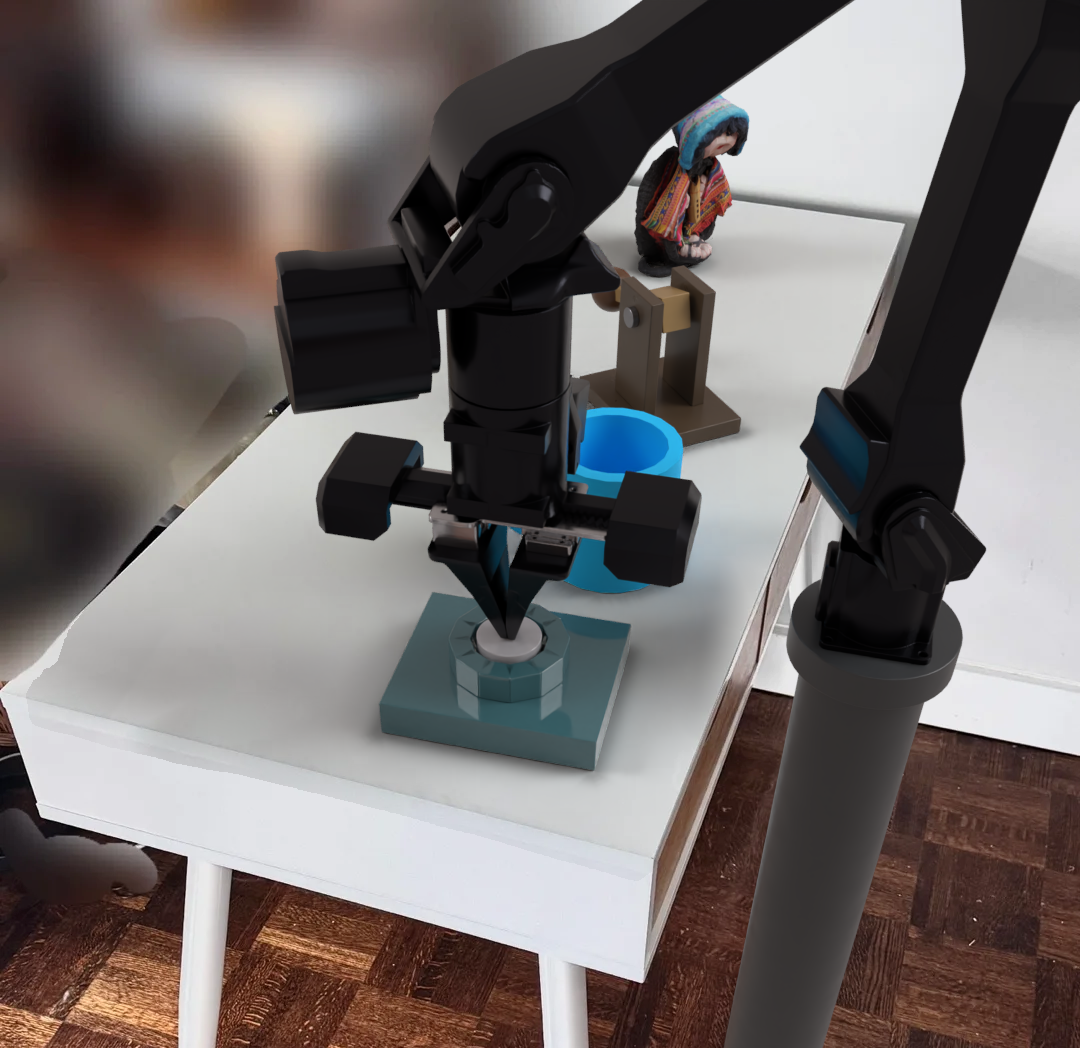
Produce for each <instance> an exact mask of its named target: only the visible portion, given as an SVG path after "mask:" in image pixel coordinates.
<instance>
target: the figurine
mask: <svg viewBox="0 0 1080 1048" xmlns="http://www.w3.org/2000/svg"><path fill="white" fill-rule="evenodd" d="M749 129H750V116H749V114H748V112H747V111H746V110H745V109H744V108H741V107H739V106H737V105H736V104H734V103H732V102H731V101H730V100H728V99H727V98H724V97H723V96H722V94H720V95H719V96H717V97H716V98H715V99H713V100H712V101H710V102H709V103H707V104H706V105H705V106H703V107H702V108H700V109H699V110H697V111H696V112H695V113H693V114H692V115H690V116H689V117H687V118H686V119H685V120H683V121H682V122H680V123H679V124H677V125H676V126H675V127H673V128H672V129H671V131H672V134H673V136H674V139H675V140H674V141H675V144H676V145H671V146H670V147H668V148H666V149H665V150H664V151H663V152H662V153H661V154H660V155H659V156H658V157H657V158H656V159H654V160H653V161H652V162H651V163H650V166H649V168H648V169H647V170H646V172H645V173H644V174H643V177H642V179H641V182H640V184H639V186H638V189H637V193H636V201H635V205H636V206H635V207H636V208H635V209H634V213H635V217H634V222H635V229H634V232H633V235H634V236H635V244H636V246H637V247H636V248H637V249H636V250H637V254H638V255H639V256H641V258H640V259H639V260H638V263H637V269H638V270H639V272H641V273H642V274H644V275H646V276H649V277H657V278H665V277H669V276H671V272H672V268H674V267H678V266H683V265H684V266H685V267H686V268H688V267H689V266H691V265H699V264H701V263H703V262H705V261H707V260H708V259H709V258H710V257H711V256H712V252H713V247H712V245H711V244H710V243H709V242H706V241H708V240H709V239H710V240H712V238H711V237H712V235H713V234H714V233H713V232H714V231H715V227H716V221H717V218H718V217H722V218H724V216H726V212H727V210H728V209H730V208H731V207H732V206H733V203H732V202H733V198H732V192H731V187H730V183H729V180H728V178H727V176H726V174H725V171H724V169H723V166H722V164H721V162H720V160H719V159H718V158H717V156H724V155H725V154H727V155H728V156H730V157H738V156H739V155H740V154H742V151H743V149H744V147H745V144H746V142H747V141H748V136H749ZM710 240H709V241H710ZM658 262H663V263H664V265H655V266H650V265H649V264H651V263H658Z"/></svg>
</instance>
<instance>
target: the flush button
mask: <svg viewBox="0 0 1080 1048" xmlns="http://www.w3.org/2000/svg"><path fill="white" fill-rule="evenodd" d="M476 641H477V653H479V654H480V655H482V656H483V657H485V658H486V659H488V660H490V661H494V662H500V663H506V664H513V663H518V662H524V661H529V660H530V659H532V658H533V657H535V656H536V655H538V654H539V653H541V652H542V632H541V629H540V628H539V626H538V625H537V624H536V623H535V622H534V621H532V620H531V619H529V618H527V617H524V619H523V622H522V624H521V626H520V629H519V631H518V634H517V636H516V639H515V640H509V639H503V638H500V636H499V635H498V633H497V632H496V630H495V629H494V627H493V626H492V624H491V623H490V621H489V620H486V621H485V622H483V623H482V624H481V625H480V627H479V628H478V630H477V635H476Z"/></svg>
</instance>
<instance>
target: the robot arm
mask: <svg viewBox="0 0 1080 1048" xmlns="http://www.w3.org/2000/svg"><path fill="white" fill-rule="evenodd" d="M854 1H855V0H640V1H638V2H637V3H636V4H635V5H634V6H631V8H629V9H628V10H627V11H625V12H624V13H622V14H621V15H620V16H618V17H616V18H615V19H614V20H613V21H611V22H610V23H608V24H606V25H604V26H602V27H600V28H598V29H596V30H593V31H591V32H590V33H588V34H586V35H584V36H581V37H578V38H574V39H571V40H566V41H562V42H558V43H553V44H550V45H546V46H542V47H538V48H534V49H530V50H528V51H526V52H524V53H522V54H520V55H517V56H516V57H513V58H512V59H509V60H507V61H505V62H504V63H501V64H499V65H498V66H496V67H493V68H491V69H489V70H487V71H485V72H483V73H481V74H479V75H477V76H475V77H473V78H471V79H469V80H467V81H466V82H463V83H462V84H461V85H459V86H457V87H456V88H454V90H453V91H452V92H451V93H450V94H449V95H448V96H447V97H446V98H445V99H444V100H443V101H442V102H441V104H440V105H439V106H438V108H437V110H436V112H435V114H434V115H433V120H432V121H433V124H432V128H431V132H430V137H429V143H428V156H427V157H426V159H425V160H424V162H423V164H422V165H421V167H420V168H419V170H418V171H417V172H416V174H415V176H414V177H413V178H412V181H411V182H410V184H409V185H408V187H407V188H406V190H405V191H404V193H403V195H402V196H401V198H400V199H399V201H398V202H397V204H396V206H395V207H394V208H393V210H392V212H391V213H390V214H389V216H388V218H387V220H386V226H387V228H388V231H389V233H390V235H391V237H392V239H393V244H387V245H380V246H370V247H360V248H351V249H349V248H348V249H340V250H332V251H319V250H313V249H297V250H287V251H279V252H278V253H277V254H276V255H275V257H274V262H275V269H276V278H277V279H276V283H275V284H276V285H275V287H276V299H277V305H273V313H274V319H275V327H276V334H277V340H278V346H279V352H280V359H281V364H282V370H283V375H284V380H285V385H286V390H287V395H288V399H289V404H290V407H291V410H292V413H293V415H301V414H302V415H303V414H310V413H317V412H325V411H332V410H333V411H334V410H341V409H348V408H349V409H350V408H355V407H364V406H372V405H378V404H379V405H380V404H387V403H394V402H395V403H396V402H403V401H411V400H418V399H419V397H420V395H425V394H430V393H432V387H433V375H434V374H438V373H440V370H441V365H442V364H441V363H442V359H441V358H442V349H441V336H440V335H441V334H440V326H439V312H438V311H443V310H444V312H445V313H444V315H445V335H446V336H445V338H446V361H447V362H446V364H447V389H448V390H447V392H448V412H447V414H446V417H445V418H444V420H443V422H442V426H443V427H442V428H443V441H444V442H448V443H450V465H451V466H450V467H451V470H444V469H437V468H432V467H431V468H430V467H424V464H425V456H424V455H425V453H424V446H423V444H422V443H421V442H419V441H418V440H416V439H410V438H403V437H402V438H401V437H396V436H390V435H389V436H388V435H381V434H374V433H368V432H360V431H354V433H352V434H351V435H350V436H349V437H348V438H347V439H346V440H345V441H344V442H343V444H342V445H341V447H340V448H339V450H338V452H337V453H336V455H335V456H334V458H333V460H332V461H331V462H330V464H329V466H328V468H326V470H325V472H324V473H323V475H322V476H321V478H320V480H319V481H318V485H317V489H316V496H315V505H316V512H317V520H318V521H317V522H318V526H319V527H320V529H321V530H322V531H323V532H324V533H325V534H327V535H328V534H329V535H335V536H340V537H346V538H353V539H360V540H365V541H372V542H374V541H376V540H377V539H378V538H380V537H381V536H382V535H384V534H385V533H386V532H388V531H389V529H390V527H391V526H392V515H391V508H392V506H400V507H406V508H414V509H421V510H427V511H429V513H428V522H429V523H431V526H432V528H431V529H432V538H431V540H430V542H429V544H428V546H427V555H428V558H429V560H430V561H432V562H434V563H439V564H443V565H445V566H446V567H447V568H448V569H449V570H450V572H451V573H452V574H453V575H454V577H456V579H457V580H458V582H459V583H461V585H462V586H463V587H464V588H465V589H466V590H467V592H468V593H469V594H470V595H471V597H472V598H474V599H475V600H476V602H477V603H478V605H479V606H480V608H481V609H482V611H483V612H484V614H485V615H486V617H487V618H488V620H489V621H490V623H491V624H492V626H493V627H494V629H495V630H496V632H497V633H498V635H499V636H500V638H503V639H509V640H515V639H516V636H517V634H518V631H519V629H520V626H521V624H522V622H523V619H524V617H525V614H526V612H527V610H528V607H529V605H530V603H532V602H533V600H534V599H535V598H536V596H537V595H538V593H539V592H540V591H541V589H542V588H543V587H544V585H545V584H546V583H547V582H548V581H553V582H562V581H563V580H565V579H566V578H568V576H569V574H570V572H571V569H572V566H573V563H574V561H575V558H576V555H577V552H578V549H579V547H580V544H581V541H582V538H587V539H594V540H600V541H605V545H604V560H603V564H604V565H605V566H606V567H607V568H608V570H609V571H610V572H611V573H612V574H613V575H614V576H615V577H616V578H617V579H619V580H625V581H632V582H638V583H644V584H651V585H653V586H658V587H664V588H672V587H676V586H678V585H680V584H682V583H684V580H685V577H686V573H687V570H688V567H689V566H688V565H689V562H690V558H691V553H692V549H693V547H694V542H695V539H696V534H697V531H698V527H699V523H700V515H701V508H702V500H703V499H702V498H703V497H702V492H701V491H700V489H699V488H698V487H697V486H696V484H695V482H694V481H693V479H687V478H674V477H667V476H660V475H653V474H646V473H639V472H632V471H626V472H625V475H624V478H623V481H622V484H621V487H620V489H619V492H618V495H617V498H609V497H602V496H595V495H589V494H587V493H588V485H587V484H585V483H579V482H572V481H567V474H571V475H575V473H576V471H577V468H578V466H579V463H580V445H581V443H582V442H583V441H584V434H585V425H586V415H587V410H588V405H589V400H588V397H589V387H590V382H589V381H587V380H584V379H580V378H579V377H573V374H571V370H572V369H571V368H572V367H571V366H572V362H571V361H572V339H573V338H572V335H573V307H574V306H573V305H574V297H575V296H583V295H592V293H601V292H610V291H615V290H616V289H618V288H619V286H620V284H621V278H620V276H619V275H618V273H617V272H616V270H615V269H614V268H613V267H614V266H613V265H612V263H611V262H610V260H609V259H608V258H607V256H606V254H605V253H604V252H603V250H602V249H601V247H600V245H598V244H597V243H596V242H594V241H592V240H591V239H589V237H588V236H587V234H586V233H585V231H586V230H587V229H588V228H590V227H591V226H592V225H593V224H594V223H595V222H596V221H597V220H598V219H599V218H600V217H601V216H602V215H603V214H605V212H606V211H607V210H608V209H609V208H611V207H612V206H613V205H614V204H615V203H616V202H618V201H619V199H620V198H621V197H622V196H623V194H624V193H625V191H626V190H627V188H628V186H629V184H630V183H631V182H632V180H633V178H634V176H635V175H636V173H637V172H638V170H639V168H640V167H641V165H642V163H644V160H645V159H646V157H647V155H648V154H649V152H650V151H651V150H652V148H653V147H655V146H656V145H657V144H658V142H660V141H661V140H662V139H663V138H664V137H665V136H666V135H667V134H669V132H670V131H672V128H673V127H675V126H676V125H677V124H679V123H680V122H682V121H683V120H685V119H686V118H687V117H689V116H690V115H692V114H693V113H695V112H696V111H697V110H699V109H700V108H702V107H703V106H705V105H706V104H707V103H709V102H710V101H712V100H713V99H715V98H716V97H717V96H719V95H722V94H723V93H724V92H726V91H728V90H729V89H730V88H732V87H734V86H735V85H736V84H737V83H739V82H740V81H742V80H743V79H745V78H746V77H748V76H749V75H751V74H752V73H753V72H754V71H756V70H757V69H759V68H760V67H761V66H763V65H765V64H766V63H768V62H769V61H770V60H771V59H773V58H774V57H776V56H777V55H779V54H780V53H782V52H783V51H784V50H786V49H787V48H789V47H790V46H792V45H793V44H795V43H796V42H798V41H799V40H800V39H802V38H803V37H804V36H806V35H807V34H809V33H810V32H812V31H813V30H815V29H816V28H818V27H819V26H820V25H822V24H823V23H825V22H826V21H827V20H829V19H830V18H832V17H833V16H834V15H836V14H838V12H840V11H842V10H843V9H845V8H846V7H847V6H849V5H850V4H851V3H853V2H854ZM960 10H961V13H960V14H961V26H962V27H961V28H962V41H963V55H964V56H963V57H964V78H963V82H962V86H961V90H960V93H959V95H958V98H957V102H956V105H955V108H954V111H953V115H952V117H951V121H950V123H949V126H948V130H947V132H946V136H945V139H944V141H943V144H942V147H941V151H940V154H939V156H938V160H937V163H936V165H935V168H934V172H933V175H932V177H931V181H930V184H929V186H928V190H927V193H926V196H925V199H924V202H923V205H922V207H921V211H920V215H919V217H918V219H917V224H916V227H915V230H914V233H913V236H912V239H911V242H910V245H909V248H908V251H907V254H906V257H905V260H904V263H903V266H902V269H901V271H900V274H899V277H898V281H897V284H896V287H895V291H894V294H893V296H892V299H891V302H890V304H889V305H890V306H889V308H888V311H887V315H886V318H885V320H884V323H883V326H882V330H881V332H880V335H879V338H878V342H877V345H876V348H875V350H874V354H873V357H872V359H871V362H870V363H869V365H868V367H867V368H866V369H865V370H864V371H863V372H862V373H861V374H859V375H858V376H857V377H856V378H855V379H853V380H852V382H851V383H849V384H848V385H847V386H846V387H844V388H843V389H841V388H835V387H829V386H824V387H822V388H821V390H820V391H819V393H818V395H817V398H816V404H815V411H814V416H813V421H812V424H811V426H810V429H809V431H808V433H807V434H806V436H805V438H804V439H803V440H802V442H801V443H800V444H799V449H800V450H801V452H802V453H803V455H804V456H805V458H806V465H805V466H806V473H807V476H808V477H809V478H810V481H811V483H812V484H813V485H814V487H815V488H816V490H817V491H818V492H819V494H820V495H821V496H822V497H823V499H824V500H825V502H826V504H827V505H828V506H829V507H830V508H831V510H832V511H833V512H834V514H835V515H836V517H837V518H838V519H839V521H840V523H842V525H841V530H840V534H839V540H830V541H829V542H828V543H827V547H826V551H825V556H824V561H823V566H822V571H821V577H820V579H821V581H820V586H819V591H818V596H817V603H816V610H815V618H816V620H817V621H821V629H820V636H819V646H820V647H821V648H822V649H825V650H830V651H836V652H842V653H849V654H855V655H861V656H867V657H873V658H879V659H886V660H892V661H898V662H904V663H910V664H916V665H928V664H929V663H930V661H931V658H932V645H933V630H934V627H935V623H936V620H937V616H938V613H939V609H940V606H941V602H942V600H944V599H943V598H944V595H945V591H946V589H947V586H948V585H950V583H953V582H959V581H964V580H967V579H969V578H970V576H972V574H973V572H974V571H975V569H976V568H977V566H978V564H980V561H981V560H982V558H983V557H984V556H985V554H986V552H987V547H986V546H985V544H984V543H983V542H982V541H981V540H980V538H978V536H977V535H976V534H975V532H974V531H973V530H972V529H971V528H970V526H969V525H967V523H966V522H965V521H964V519H962V518H961V516H960V514H958V513H957V511H956V510H955V509H956V505H957V502H958V501H957V500H958V496H959V493H960V488H961V483H962V478H963V474H964V470H965V466H966V449H965V447H966V445H965V432H964V431H965V430H964V420H963V404H962V402H963V397H964V393H965V389H966V386H967V384H968V382H969V378H970V376H971V373H972V371H973V369H974V366H975V363H976V360H977V357H978V355H979V353H980V350H981V349H982V345H983V342H984V339H985V337H986V335H987V332H988V329H989V327H990V324H991V322H992V319H993V316H994V314H995V311H996V309H997V307H998V303H999V302H1000V298H1001V296H1002V294H1003V290H1004V289H1005V285H1006V282H1007V281H1008V278H1009V276H1010V273H1011V270H1012V268H1013V265H1014V262H1015V259H1016V257H1017V254H1018V252H1019V250H1020V247H1021V245H1022V242H1023V239H1024V236H1025V234H1026V231H1027V228H1028V226H1029V223H1030V220H1031V218H1032V216H1033V213H1034V210H1035V208H1036V205H1037V203H1038V201H1039V197H1040V195H1041V192H1042V189H1043V187H1044V184H1045V182H1046V179H1047V176H1048V175H1049V172H1050V169H1051V167H1052V164H1053V161H1054V159H1055V156H1056V154H1057V150H1058V149H1059V146H1060V143H1061V142H1062V141H1061V140H1062V138H1063V136H1064V133H1065V131H1066V127H1067V125H1068V122H1069V120H1070V118H1071V115H1072V113H1073V112H1074V110H1075V108H1076V106H1077V105H1078V104H1079V103H1080V0H960ZM454 219H456V220H457V223H459V226H460V229H459V231H458V232H457V234H456V236H455V237H454V239H453V240H452V238H451V236H450V234H449V232H448V230H447V228H446V225H447V224H449V223H450V222H451V221H453V220H454ZM508 526H509V527H508ZM510 527H515V528H522V530H521V534H522V535H521V534H520V535H521V539H520V541H519V543H518V545H517V548H516V551H515V553H514V555H513V558H512V560H511V562H510V556H509V547H508V531H509V530H508V528H510ZM651 585H650V586H651ZM923 657H924V658H923Z"/></svg>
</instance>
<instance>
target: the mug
mask: <svg viewBox="0 0 1080 1048" xmlns="http://www.w3.org/2000/svg"><path fill="white" fill-rule="evenodd" d="M683 456H684V447H683V444H682V438H681V437H680V435H679V434H678V433H677V431H676V430H675V428H674V427H672V426H671V425H670V424H668V423H667V422H665V421H664V420H662V419H661V418H658V417H656V416H653V415H651V414H648V413H646V412H643V411H637V410H632V409H627V408H597V409H596V408H591V409H587V415H586V425H585V434H584V441H583V442H582V443H581V445H580V463H579V466H578V468H577V471H576V473H575V475H571V474H567V481H572V482H579V483H585V484H587V485H588V493H587V494H589V495H595V496H602V497H609V498H617V495H618V492H619V489H620V487H621V484H622V481H623V478H624V475H625V472H626V471H632V472H639V473H646V474H653V475H660V476H667V477H674V478H680V479H682V478H681V477H682V466H683V458H684V457H683ZM508 528H509V529H511V530H512V531H513V532H515V533H517V534H518V535H521V536H523V535H522V534H521V530H522V528H515V527H509V526H508ZM604 545H605V541H600V540H594V539H587V538H582V541H581V544H580V547H579V549H578V552H577V555H576V558H575V561H574V563H573V566H572V569H571V572H570V574H569V576H568V578H566V579H565V580H562V581H564V582H566V583H568V584H570V585H572V586H574V587H576V588H578V589H581V590H586V591H590V592H591V591H592V592H595V593H600V594H622V593H623V594H624V593H628V592H633V591H638V590H639V591H640V590H642V589H644V588H647V587H649V586H651V584H644V583H638V582H632V581H625V580H619V579H617V578H616V577H615V576H614V575H613V574H612V573H611V572H610V571H609V570H608V568H607V567H606V566H605V565H604V564H603V560H604Z"/></svg>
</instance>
